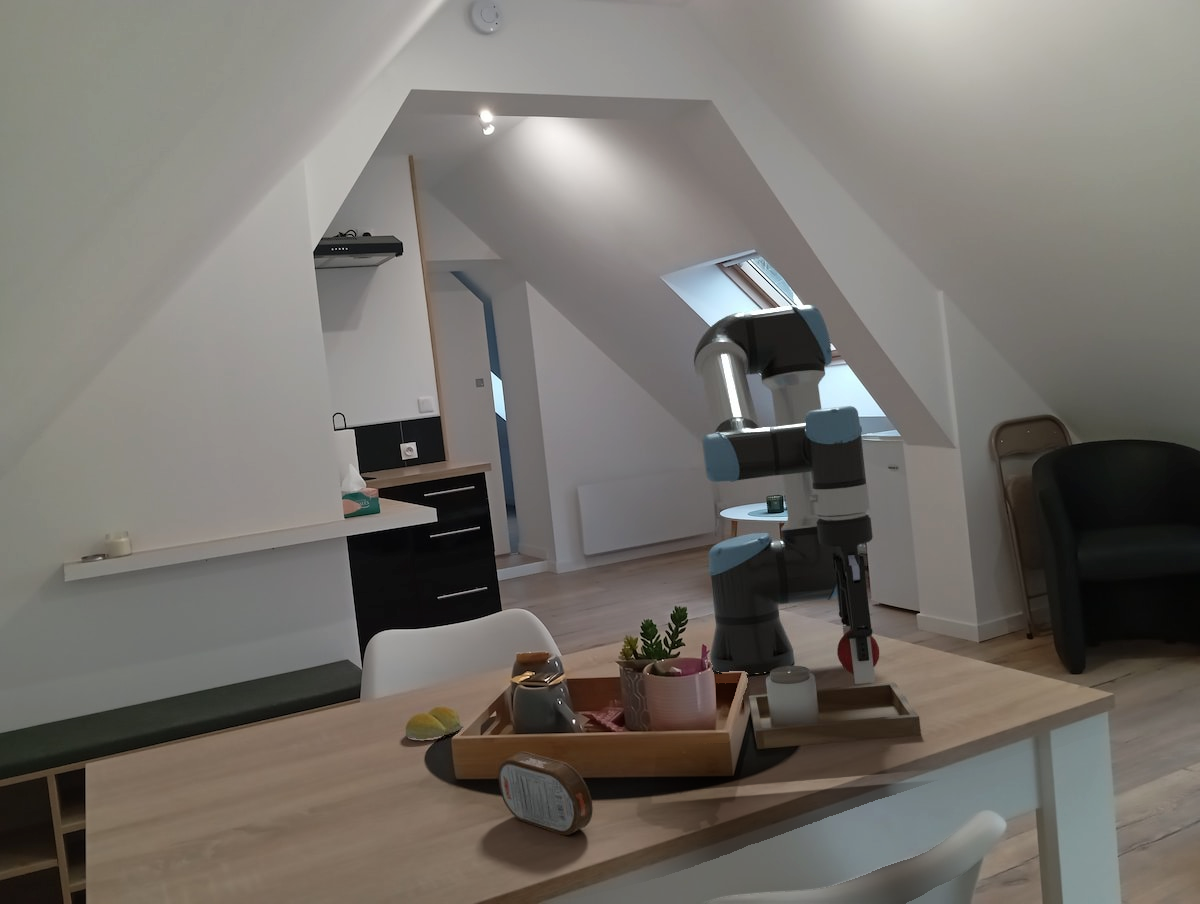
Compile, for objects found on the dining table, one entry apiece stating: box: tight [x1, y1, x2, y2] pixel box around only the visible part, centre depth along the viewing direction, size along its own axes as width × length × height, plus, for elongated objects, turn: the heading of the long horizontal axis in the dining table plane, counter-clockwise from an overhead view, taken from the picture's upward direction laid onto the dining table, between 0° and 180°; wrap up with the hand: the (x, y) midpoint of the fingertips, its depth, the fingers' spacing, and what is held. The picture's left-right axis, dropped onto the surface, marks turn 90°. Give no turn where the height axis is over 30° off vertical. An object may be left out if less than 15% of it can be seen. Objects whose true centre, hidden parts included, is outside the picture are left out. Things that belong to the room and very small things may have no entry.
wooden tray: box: [748, 681, 922, 750], centre depth 143 cm, size 16×22×4 cm
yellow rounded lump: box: [405, 706, 463, 739], centre depth 164 cm, size 8×9×4 cm
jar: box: [765, 665, 820, 727], centre depth 144 cm, size 7×7×8 cm
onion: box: [836, 630, 880, 675], centre depth 142 cm, size 6×6×8 cm
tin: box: [497, 751, 594, 836], centre depth 122 cm, size 15×3×8 cm, turn 44°
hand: (861, 675), depth 142 cm, fingers closed on onion, 6 cm apart
